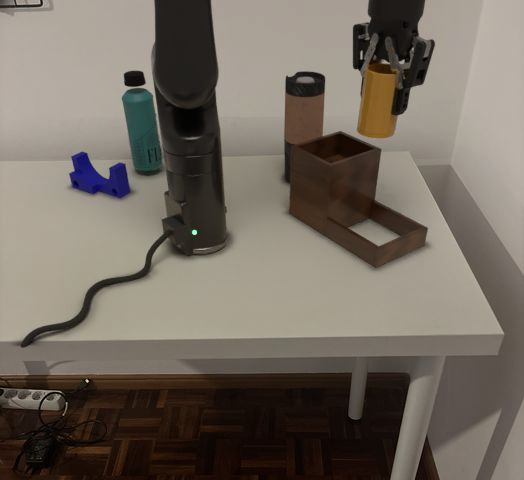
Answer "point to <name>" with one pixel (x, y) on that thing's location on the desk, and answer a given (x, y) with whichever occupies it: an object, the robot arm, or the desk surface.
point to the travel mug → (302, 111)
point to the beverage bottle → (141, 123)
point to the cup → (377, 102)
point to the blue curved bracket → (98, 177)
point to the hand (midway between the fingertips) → (382, 107)
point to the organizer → (347, 196)
